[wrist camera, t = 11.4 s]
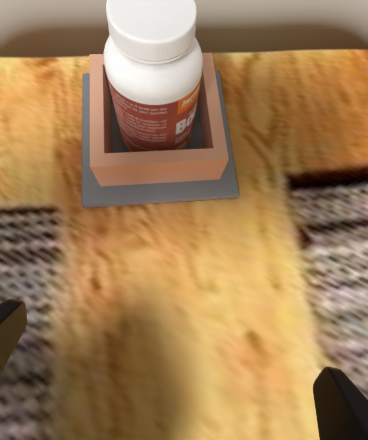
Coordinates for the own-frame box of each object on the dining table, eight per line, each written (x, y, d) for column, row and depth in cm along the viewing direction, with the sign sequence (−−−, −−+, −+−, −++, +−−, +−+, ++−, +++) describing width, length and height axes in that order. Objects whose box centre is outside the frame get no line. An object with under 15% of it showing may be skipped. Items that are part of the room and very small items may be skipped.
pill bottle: (185, 170, 24) (203, 65, 13) (114, 158, 24) (75, 42, 13) (195, 110, 26) (218, -24, 15) (129, 98, 26) (106, -46, 15)
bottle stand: (84, 207, 23) (67, 187, 19) (84, 80, 27) (70, 39, 23) (236, 198, 24) (251, 176, 20) (217, 77, 28) (227, 38, 24)
